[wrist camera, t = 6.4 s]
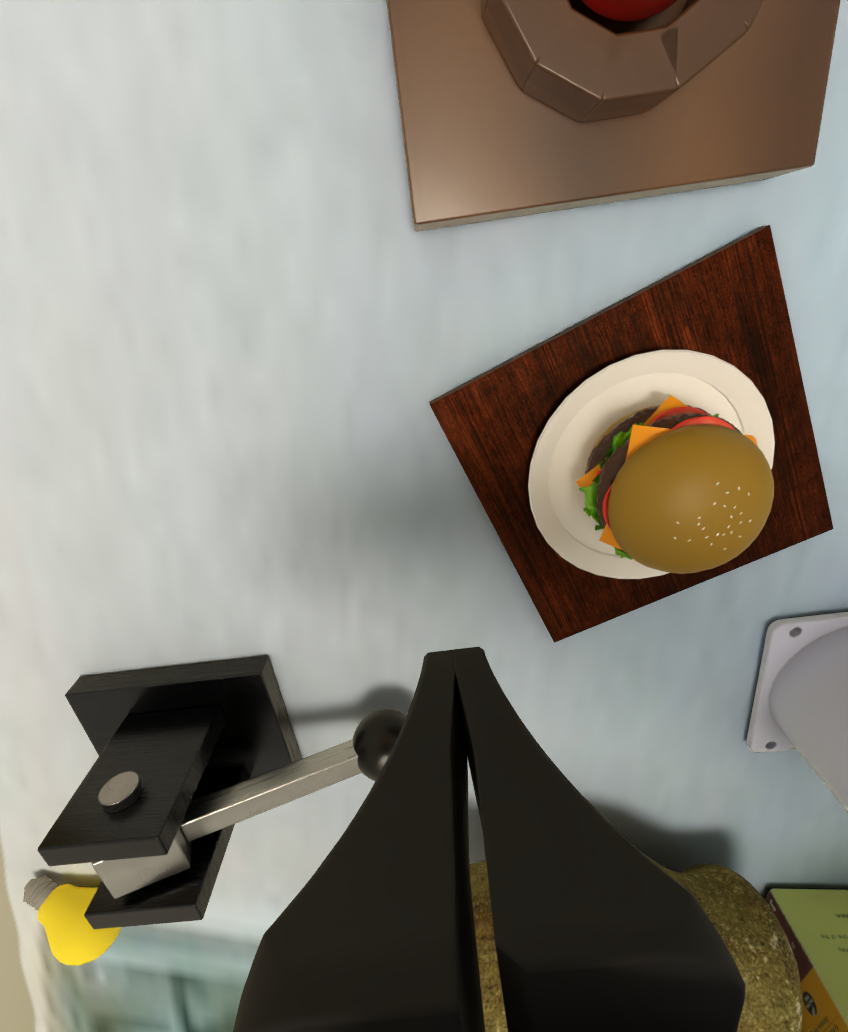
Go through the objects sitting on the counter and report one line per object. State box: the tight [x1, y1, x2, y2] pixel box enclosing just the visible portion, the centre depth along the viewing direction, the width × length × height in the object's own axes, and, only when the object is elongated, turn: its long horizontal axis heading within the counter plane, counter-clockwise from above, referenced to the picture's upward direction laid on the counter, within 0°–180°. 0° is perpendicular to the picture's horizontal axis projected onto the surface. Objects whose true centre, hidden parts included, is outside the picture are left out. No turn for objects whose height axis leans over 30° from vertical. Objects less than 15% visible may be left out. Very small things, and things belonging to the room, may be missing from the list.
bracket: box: [38, 656, 302, 929], centre depth 22 cm, size 9×8×7 cm
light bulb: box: [23, 875, 121, 965], centre depth 29 cm, size 3×6×4 cm
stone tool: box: [469, 854, 803, 1032], centre depth 26 cm, size 20×9×10 cm
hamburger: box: [430, 225, 833, 642], centre depth 17 cm, size 12×12×6 cm
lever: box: [92, 709, 406, 899], centre depth 22 cm, size 13×3×3 cm, turn 98°
